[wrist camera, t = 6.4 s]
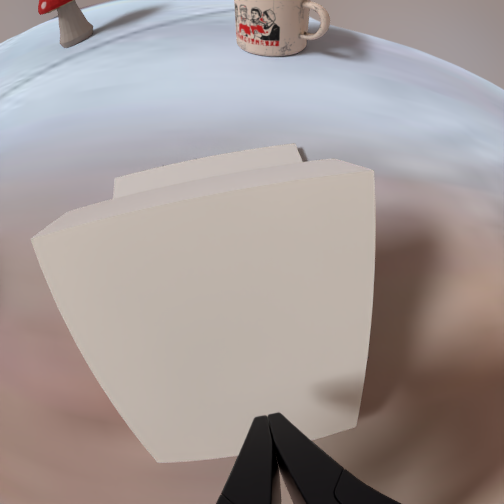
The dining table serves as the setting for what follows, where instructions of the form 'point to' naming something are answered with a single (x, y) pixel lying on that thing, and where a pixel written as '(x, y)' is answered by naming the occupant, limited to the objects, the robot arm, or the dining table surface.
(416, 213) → the dining table surface
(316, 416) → the beige rectangular block
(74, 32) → the decorative mushroom
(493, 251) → the dining table surface
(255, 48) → the teacup with lid
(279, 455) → the robot arm
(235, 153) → the mat
